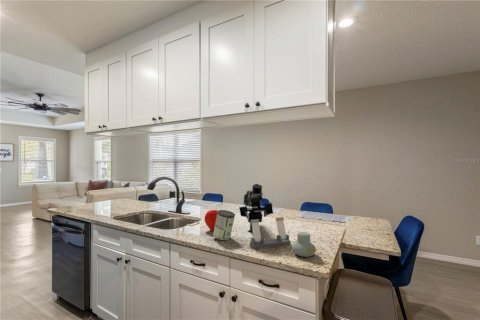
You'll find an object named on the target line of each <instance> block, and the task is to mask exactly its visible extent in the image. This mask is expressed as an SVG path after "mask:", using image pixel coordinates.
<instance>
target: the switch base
mask: <svg viewBox="0 0 480 320" xmlns="http://www.w3.org/2000/svg"><path fill="white" fill-rule="evenodd" d="M291 243H292V242H291V240H290V235H289V234H288V233H286V239H281V236H279V234H276V238H271V239H265V238H264V237H263V236H261V242H255V239H254V238H253V237H251V238H250V241H249V246H250V247H251V249H253V248H254V249H253V250H259V249H268V248H276V247H284V246H290V245H291ZM291 246H292V245H291Z"/></svg>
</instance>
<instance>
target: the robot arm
mask: <svg viewBox="0 0 480 320" xmlns="http://www.w3.org/2000/svg"><path fill="white" fill-rule="evenodd" d="M262 191H263V185H260V184H259V183H255V184H253V185H252V190H246V193H245V194H244V195H243V204H241V205H240V206H239V213H240V217H243V218H244V217H245V218H246V219H247V222H248V223H249V230H248V231H247V232H249V233H253V231H252V223H251V220H256V219H259V223H262V222H263V217H264V218H265V217H267V216H269V215H272V214H274V211H273V210H274V209H273V203H272V202H264V206H262V201H263V192H262ZM262 212H263V213H262ZM260 232H261V229H260Z"/></svg>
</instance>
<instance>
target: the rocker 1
mask: <svg viewBox="0 0 480 320" xmlns="http://www.w3.org/2000/svg"><path fill="white" fill-rule="evenodd" d="M251 223H252V231H253V232H252V236H253V237H252V238H254V239H255V242H261V237H262V236H261V231H260V230H261V228H260V222H259V219H256V220H251Z"/></svg>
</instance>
